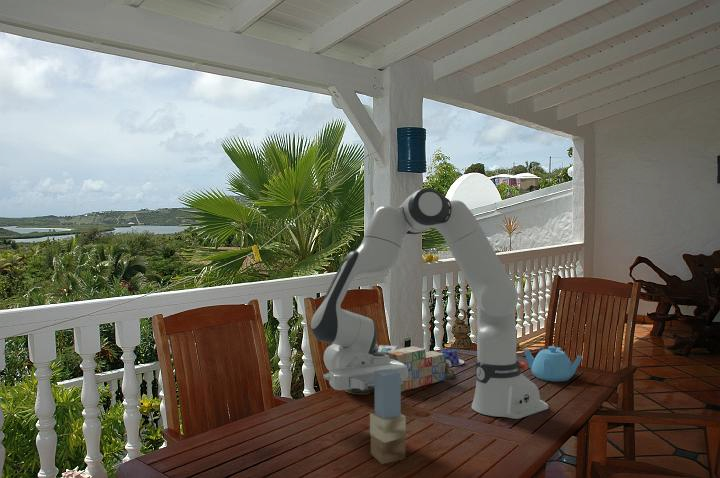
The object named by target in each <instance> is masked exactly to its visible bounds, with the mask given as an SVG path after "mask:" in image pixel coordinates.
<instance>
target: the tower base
mask: <svg viewBox="0 0 720 478" xmlns="http://www.w3.org/2000/svg"><path fill="white" fill-rule="evenodd" d="M370 455H371V456H372V457H373V458H375V459H376V460H377V461H378V462H379V463H380V464H381V465H386V464H389V462H390V463H395V462H399V461H398V460H400V461H403V459H405V460H406V437H405V438H401V439H397V440H394V441H390V442H386V443H384V442H382V441H380V440H379V439H377V438H375V437H374V436H372V435H370ZM394 461H395V462H394ZM385 463H386V464H385Z"/></svg>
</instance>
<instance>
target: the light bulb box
mask: <svg viewBox="0 0 720 478" xmlns="http://www.w3.org/2000/svg"><path fill="white" fill-rule="evenodd" d="M378 347H379V349H378V351H377V353H375V354H385V355H386V352H387V351H392V350H397V349H399V348H398V346H397V345H383V344H379V345H378Z"/></svg>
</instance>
